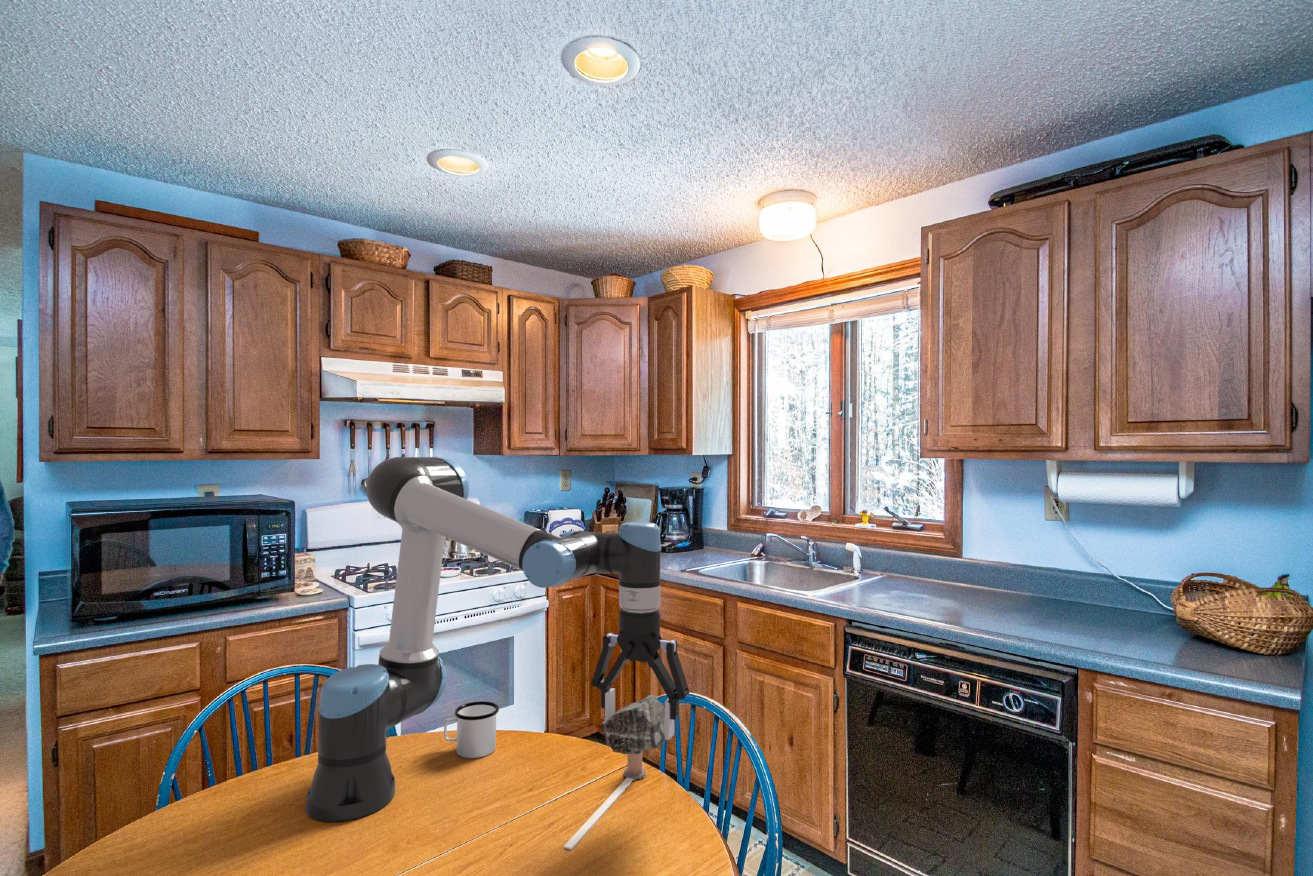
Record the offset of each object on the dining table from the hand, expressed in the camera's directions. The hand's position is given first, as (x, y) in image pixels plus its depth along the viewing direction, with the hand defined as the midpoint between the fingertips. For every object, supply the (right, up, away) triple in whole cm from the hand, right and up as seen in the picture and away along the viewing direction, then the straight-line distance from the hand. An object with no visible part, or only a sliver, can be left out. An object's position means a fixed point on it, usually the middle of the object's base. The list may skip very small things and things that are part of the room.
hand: (639, 731), depth 116 cm
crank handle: (-6, -15, +4) cm, 17 cm away
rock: (0, -2, 0) cm, 2 cm away
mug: (-38, -16, +26) cm, 49 cm away
